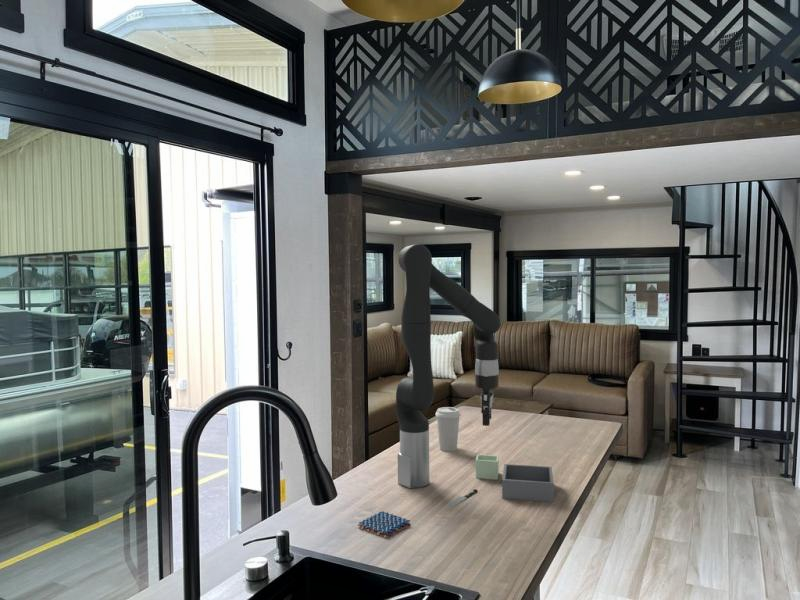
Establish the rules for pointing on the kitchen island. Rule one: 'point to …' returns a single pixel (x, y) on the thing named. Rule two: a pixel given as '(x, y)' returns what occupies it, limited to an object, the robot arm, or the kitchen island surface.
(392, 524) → the woven mat
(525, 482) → the charcoal crate
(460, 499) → the chef's knife
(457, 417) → the coffee cup
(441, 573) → the kitchen island surface
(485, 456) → the sage crate
